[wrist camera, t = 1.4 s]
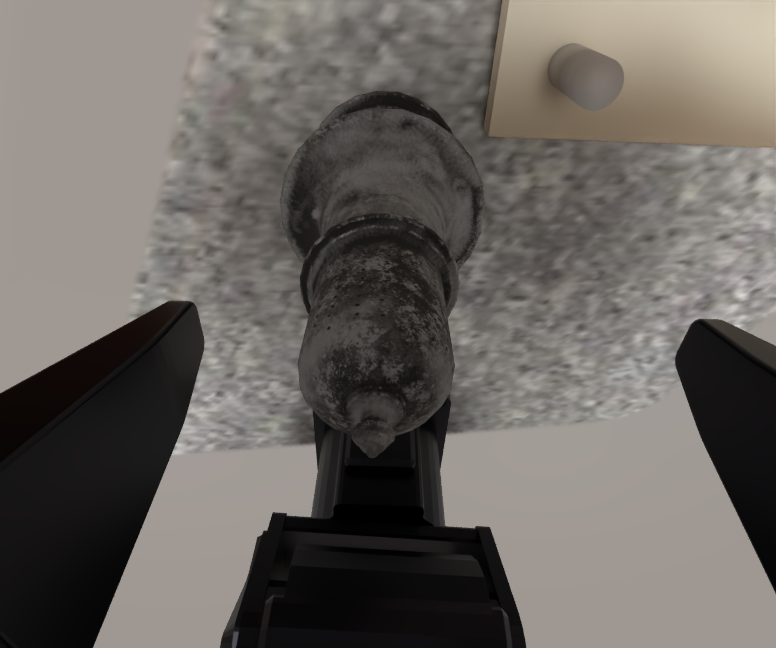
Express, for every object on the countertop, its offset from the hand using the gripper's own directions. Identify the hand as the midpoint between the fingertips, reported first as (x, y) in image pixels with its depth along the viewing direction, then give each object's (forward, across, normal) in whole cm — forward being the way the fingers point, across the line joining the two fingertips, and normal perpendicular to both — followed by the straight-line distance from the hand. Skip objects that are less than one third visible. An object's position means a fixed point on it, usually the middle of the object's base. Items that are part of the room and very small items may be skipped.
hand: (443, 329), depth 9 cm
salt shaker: (+10, +1, 0) cm, 10 cm away
